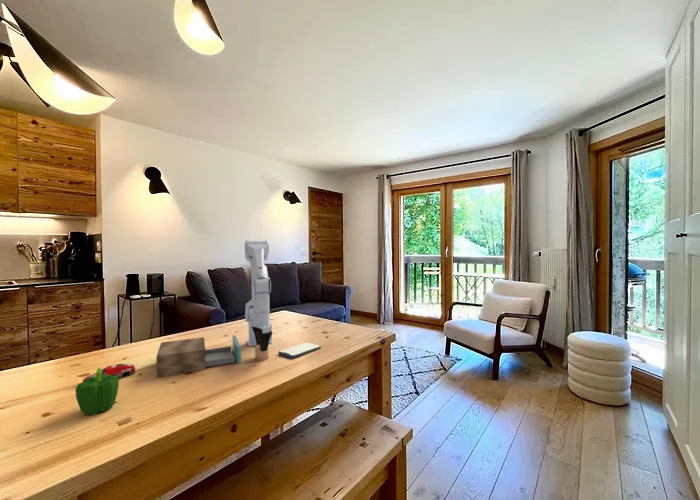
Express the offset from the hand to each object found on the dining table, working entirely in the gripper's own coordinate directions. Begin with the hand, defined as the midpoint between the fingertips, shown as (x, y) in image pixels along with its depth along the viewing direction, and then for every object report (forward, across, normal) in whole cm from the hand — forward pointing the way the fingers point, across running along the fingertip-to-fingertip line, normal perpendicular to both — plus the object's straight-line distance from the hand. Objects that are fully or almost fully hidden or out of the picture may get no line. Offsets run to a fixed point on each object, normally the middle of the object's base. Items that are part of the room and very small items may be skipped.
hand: (261, 347), depth 114 cm
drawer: (+4, -6, -15) cm, 16 cm away
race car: (+4, -4, -46) cm, 46 cm away
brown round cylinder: (+4, 0, 0) cm, 4 cm away
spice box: (+4, -6, -26) cm, 27 cm away
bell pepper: (+4, +18, -44) cm, 48 cm away
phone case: (+4, -1, +15) cm, 16 cm away
